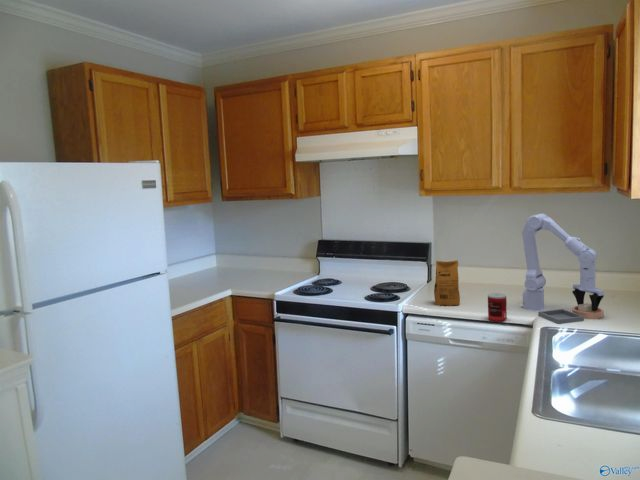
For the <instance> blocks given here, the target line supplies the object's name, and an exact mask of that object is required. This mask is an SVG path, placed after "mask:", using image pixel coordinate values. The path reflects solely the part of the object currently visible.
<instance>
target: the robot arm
mask: <svg viewBox="0 0 640 480" xmlns="http://www.w3.org/2000/svg"><path fill="white" fill-rule="evenodd" d="M541 230H543V231H549V232H551V233H552V234H553V235H555V236H556V237H558V239H559V240H561V241H562V242H564V247H565V248H566V249H568V251H570V253H572V254H573V255H574V256H575V257H577V258H578V259H577V260H578V261H579V264H580V266H579V273H580V274H579V284H577V283H576V284H572V294H573V296H574V298H575V300H576V303H577V306H578V305H579V304H585V295H586V293H589V295H588V296H589V299H590V304H592V311H597V310H598V308H599V306H600V303H601V302H602V300H603V298H604V290H602V289H599V288H598V287H596V260H597V258H598V254H597V252H596V251H595V249H593V248H590V246H589V245H586V244H585V243H583V242H582V241H581V238H579V237H576V236H571V235H569V234H568V233H567V232H566V231H565V230H564V229H563V228H562V226H559V225H558V223H556V222H555V221H554V219H553V218H551V217H549V216H548V215H547V214H546V213H537V214H532V215H531V216H529V217H528V218H527V219H526V220H525V224H524V227H523V229H522V232H521V234H522V241H523V248H524V249H523V250H524V256H525V263H526V269H527V270H526V273H525V281H524V287H525V289H524V290H523V291H522V305H521V306H520V307H521V308H523V309H527V310H530V311H531V312H532V311H533V312H536V311H547V310H548V308H547V307H545V288H544V287H545V285H546V284H547V281H546V279H547V278H545V276H544V274H543V271H542V270H541V267H540V259H539V255H538V254H539V253H538V248H537V247H538V246H537V240H536V234H538V233H539V231H541Z"/></svg>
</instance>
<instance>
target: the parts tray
mask: <svg viewBox="0 0 640 480" xmlns="http://www.w3.org/2000/svg"><path fill="white" fill-rule="evenodd" d="M537 315H538V317H541V318H543V319H545V320H548V321H550V322H552V323H554V324H557V325H563V324H569V323H578V322H585V318H584V316H581V315H578V314H576V313H573V312H572V311H570V310H568V309H564V308H559V309H551V310H549V309H548V310H540V311H538V314H537Z"/></svg>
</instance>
